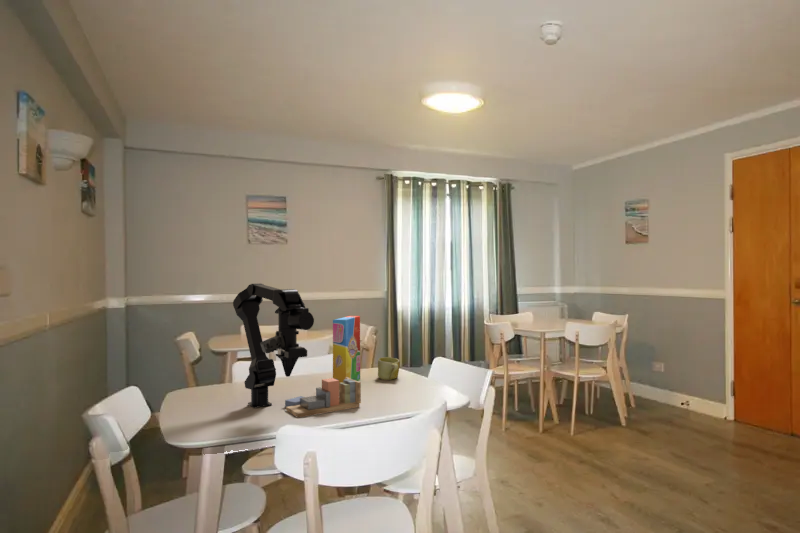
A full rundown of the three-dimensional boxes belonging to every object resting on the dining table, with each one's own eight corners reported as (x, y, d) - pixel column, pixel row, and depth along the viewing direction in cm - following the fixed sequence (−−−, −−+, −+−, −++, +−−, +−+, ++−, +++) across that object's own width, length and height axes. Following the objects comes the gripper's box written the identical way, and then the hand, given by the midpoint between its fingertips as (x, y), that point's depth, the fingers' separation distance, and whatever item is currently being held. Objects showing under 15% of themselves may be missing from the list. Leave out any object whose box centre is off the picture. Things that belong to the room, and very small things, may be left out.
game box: (345, 390, 195) (345, 319, 196) (332, 389, 196) (331, 319, 197) (360, 379, 216) (360, 315, 216) (348, 378, 217) (348, 315, 217)
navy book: (285, 406, 171) (285, 400, 171) (300, 402, 177) (300, 396, 177) (295, 409, 168) (295, 402, 168) (310, 404, 174) (310, 398, 174)
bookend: (299, 405, 168) (299, 390, 168) (320, 401, 172) (320, 387, 172) (308, 410, 161) (308, 394, 162) (330, 407, 166) (330, 391, 166)
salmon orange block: (321, 403, 171) (321, 379, 171) (332, 401, 173) (332, 378, 173) (328, 406, 167) (328, 382, 167) (339, 404, 169) (339, 380, 169)
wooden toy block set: (286, 410, 167) (286, 385, 167) (347, 400, 179) (346, 377, 179) (297, 417, 158) (297, 391, 158) (360, 406, 171) (360, 382, 171)
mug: (370, 371, 221) (378, 351, 220) (392, 377, 224) (400, 357, 223) (376, 383, 210) (384, 361, 209) (398, 388, 213) (406, 367, 212)
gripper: (253, 327, 167) (253, 374, 166) (273, 332, 151) (273, 384, 151) (286, 325, 173) (286, 370, 172) (307, 329, 157) (308, 380, 157)
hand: (287, 376), depth 163 cm, fingers closed
